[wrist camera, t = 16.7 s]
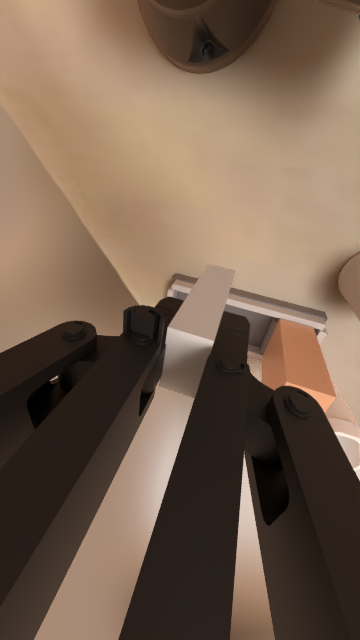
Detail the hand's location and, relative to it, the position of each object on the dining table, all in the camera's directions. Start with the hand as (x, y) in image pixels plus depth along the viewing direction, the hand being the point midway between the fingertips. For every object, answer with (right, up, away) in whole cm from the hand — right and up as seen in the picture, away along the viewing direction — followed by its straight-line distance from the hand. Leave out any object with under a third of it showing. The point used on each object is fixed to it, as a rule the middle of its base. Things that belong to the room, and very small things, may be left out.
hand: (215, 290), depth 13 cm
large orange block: (+16, -4, +27) cm, 31 cm away
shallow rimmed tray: (+9, -1, +30) cm, 31 cm away
